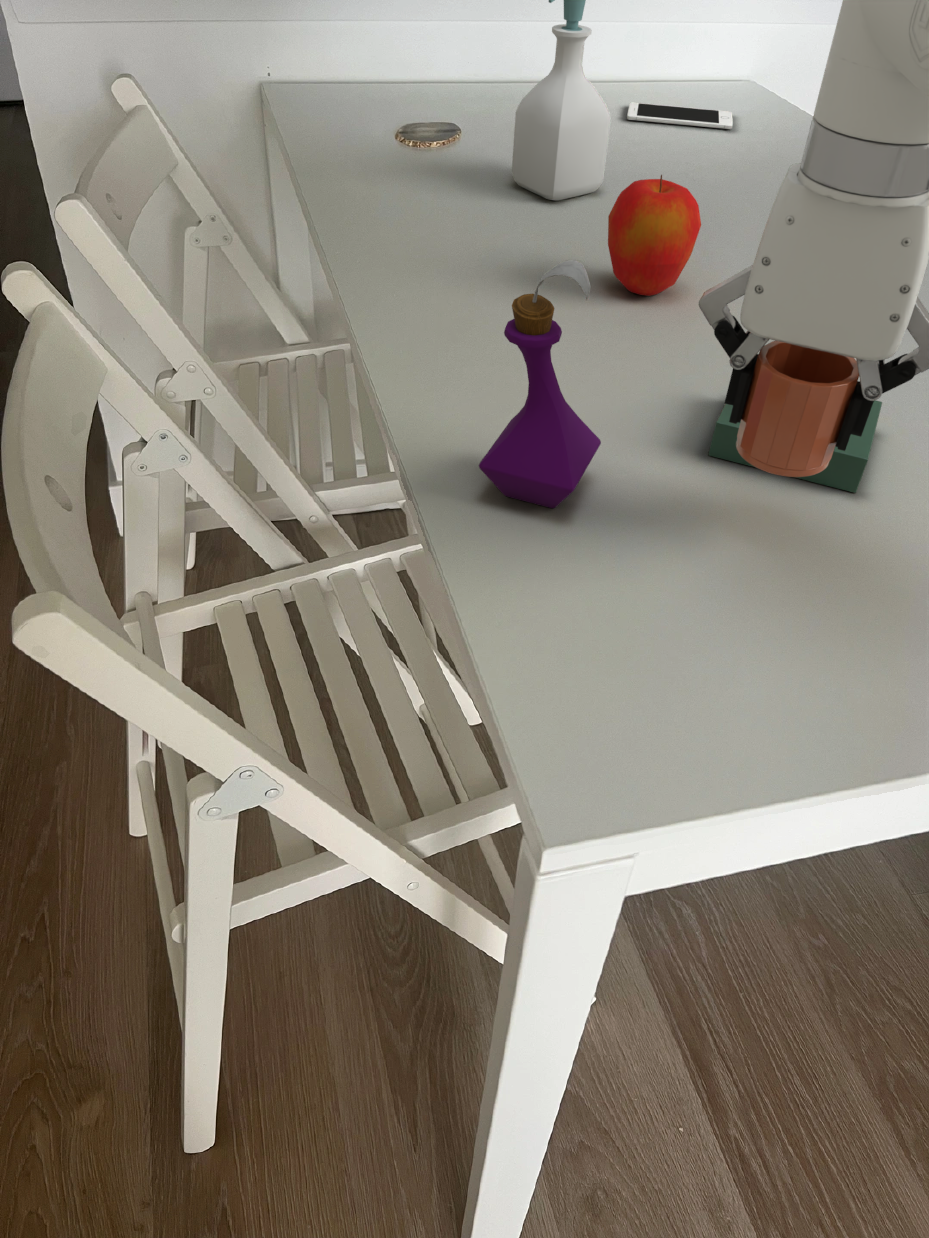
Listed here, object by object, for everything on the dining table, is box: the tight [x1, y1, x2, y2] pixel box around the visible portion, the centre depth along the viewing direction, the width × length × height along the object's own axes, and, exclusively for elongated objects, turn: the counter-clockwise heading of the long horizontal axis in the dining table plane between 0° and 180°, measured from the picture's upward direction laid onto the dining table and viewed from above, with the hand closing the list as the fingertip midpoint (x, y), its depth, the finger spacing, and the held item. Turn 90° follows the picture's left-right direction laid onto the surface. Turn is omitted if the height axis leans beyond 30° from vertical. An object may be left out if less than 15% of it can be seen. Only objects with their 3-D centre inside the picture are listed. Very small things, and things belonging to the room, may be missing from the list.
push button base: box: [708, 400, 883, 494], centre depth 82 cm, size 12×10×5 cm
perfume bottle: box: [478, 259, 602, 509], centre depth 71 cm, size 8×8×18 cm
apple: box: [607, 174, 702, 297], centre depth 102 cm, size 9×9×12 cm
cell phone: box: [626, 101, 734, 130], centre depth 154 cm, size 8×16×1 cm, turn 80°
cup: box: [736, 340, 860, 478], centre depth 68 cm, size 7×7×7 cm
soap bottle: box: [511, 0, 612, 201], centre depth 121 cm, size 10×10×23 cm
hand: (790, 425), depth 69 cm, fingers closed on cup, 6 cm apart
